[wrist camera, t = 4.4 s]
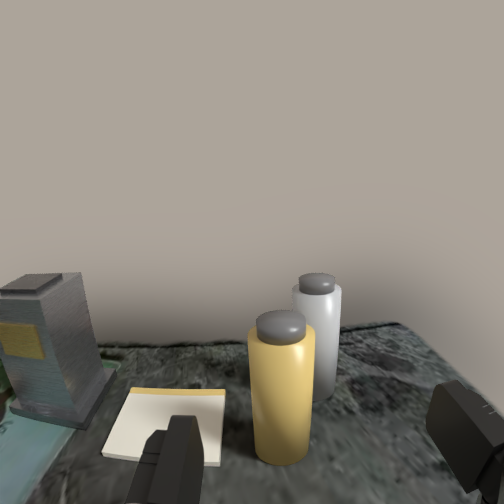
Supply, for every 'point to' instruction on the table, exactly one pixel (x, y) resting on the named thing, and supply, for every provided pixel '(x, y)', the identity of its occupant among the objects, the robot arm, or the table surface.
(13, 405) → the unit
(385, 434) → the table surface
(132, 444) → the pad
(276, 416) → the cylinder
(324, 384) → the cylinder
